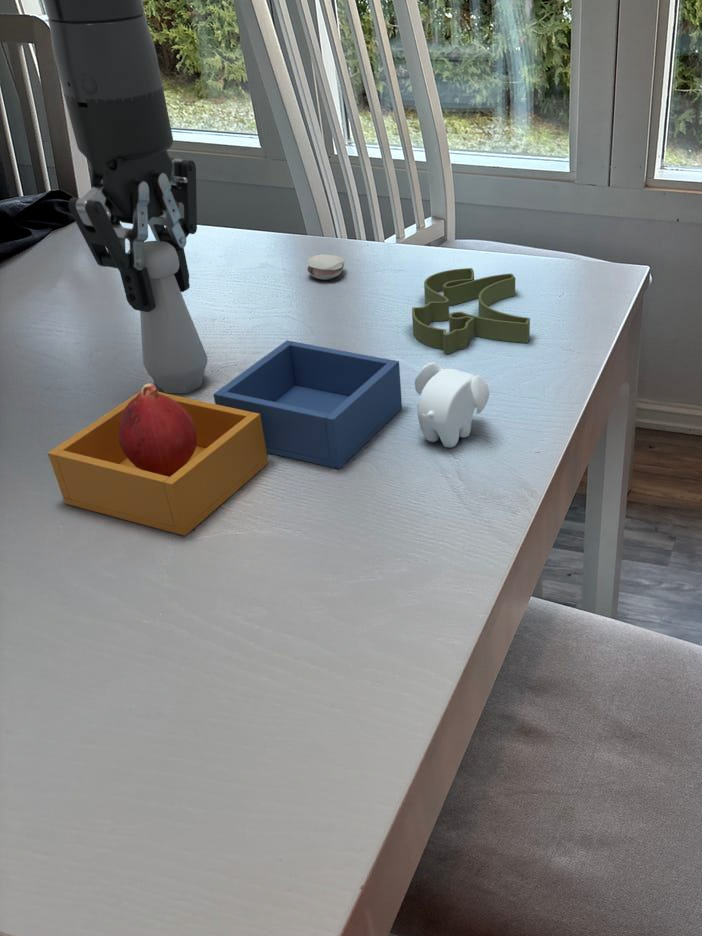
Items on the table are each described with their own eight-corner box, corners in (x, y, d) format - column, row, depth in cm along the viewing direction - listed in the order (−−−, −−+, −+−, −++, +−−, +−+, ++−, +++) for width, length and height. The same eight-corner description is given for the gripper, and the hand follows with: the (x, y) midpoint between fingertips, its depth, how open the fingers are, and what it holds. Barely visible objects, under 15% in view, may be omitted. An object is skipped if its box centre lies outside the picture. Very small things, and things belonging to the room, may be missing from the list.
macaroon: (301, 277, 112) (298, 256, 110) (331, 265, 115) (328, 244, 113) (327, 286, 110) (325, 264, 108) (357, 273, 113) (355, 251, 111)
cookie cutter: (533, 350, 97) (534, 331, 95) (415, 355, 96) (414, 336, 95) (513, 284, 110) (513, 266, 109) (409, 288, 109) (408, 270, 108)
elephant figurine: (508, 426, 85) (509, 363, 81) (457, 466, 80) (455, 400, 76) (445, 407, 88) (443, 345, 84) (392, 444, 83) (388, 379, 79)
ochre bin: (64, 503, 76) (46, 452, 73) (156, 436, 84) (143, 388, 81) (185, 536, 72) (171, 484, 69) (269, 463, 80) (260, 413, 77)
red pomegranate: (147, 503, 75) (121, 410, 69) (120, 472, 78) (94, 381, 73) (216, 479, 77) (196, 388, 72) (187, 450, 81) (166, 361, 75)
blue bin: (222, 442, 83) (212, 393, 80) (293, 386, 91) (286, 339, 88) (339, 469, 79) (333, 419, 76) (402, 408, 88) (399, 360, 84)
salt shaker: (143, 378, 92) (109, 240, 84) (202, 366, 94) (174, 229, 86) (157, 403, 88) (123, 260, 80) (218, 390, 90) (190, 249, 82)
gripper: (132, 63, 81) (175, 267, 92) (8, 99, 71) (74, 322, 82) (206, 69, 79) (241, 278, 90) (88, 108, 69) (144, 336, 80)
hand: (161, 298), depth 86 cm, fingers closed on salt shaker, 4 cm apart
